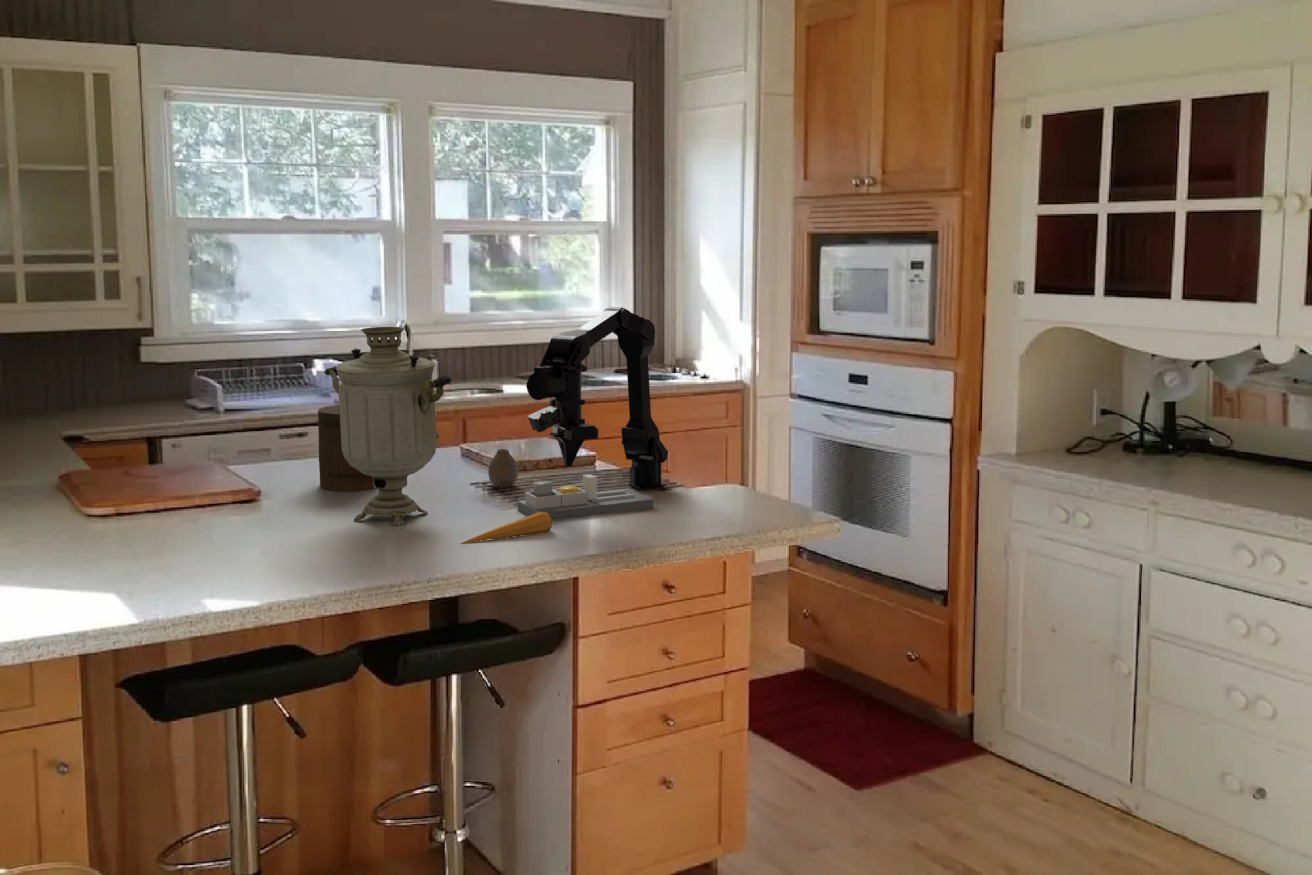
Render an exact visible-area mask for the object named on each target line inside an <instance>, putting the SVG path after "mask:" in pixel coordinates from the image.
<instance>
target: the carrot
mask: <svg viewBox="0 0 1312 875" xmlns="http://www.w3.org/2000/svg"><path fill="white" fill-rule="evenodd" d="M552 528H553V520H552V519H551V517H550V516H549V514H548V513H546V512H538V513H535V514H532V515H530V516H528V515H526V516H525V517H522V518H519V519H516V520H514V521H511V522H509V523H506V524H504V525H501V526H498V527H496V528H493V529H490V530H488V531H486V532H483V533H480V534H479V535H475V536H473V537H471V538H470V539H467V540H465V541H462V542H461V543H462V544H468V543H467V542H472V543H476V542H475V541H480V540H487V539H496V540H501V539H500V538H503V539H507V538H506V537H510V538H514V537H513V536H518V537H521V536H520V535H525V536H532V535H537V534H539V533H540V534H544V533H545V532H546V533H549V532H550V531H551V530H552ZM546 533H545V534H546ZM480 542H481V541H480Z"/></svg>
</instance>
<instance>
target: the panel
mask: <svg viewBox="0 0 1312 875" xmlns="http://www.w3.org/2000/svg"><path fill="white" fill-rule="evenodd" d="M524 494H525V495H524V496H525V499H521V500H517V511H519V512H521V513H522V514H524V515H526V516H530V515H532V514H535V513H538V512H546V513H548V514H549V516H550V517H551V519H552V521H558V520H565V519H566V520H567V519H574V518H582V517H583V518H584V517H588V516H589V517H590V516H599V515H600V516H601V515H608V514H609V515H610V514H616V513H622V512H623V513H624V512H631V511H640V510H641V511H642V510H647V509H648V510H650V509H654V506H655V503H654V502H655V501H654V500H655V499H654V498H652V497H650V496H648V495H646V494H643V493H641V492H639V491H637V490H634V489H632V488H629V487H626V488H619V489H612V490H609V489H607V490H600V491H597V498H594V499H592V500H587V492H586V491H584V490H583V488H582V489H581V488H579V487H578V492H577V493H568V494H562V493H560V487H557V488H552V495H550V496H541V497H536V496H534V490H532V491H525V492H524Z"/></svg>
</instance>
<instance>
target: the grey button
mask: <svg viewBox="0 0 1312 875" xmlns="http://www.w3.org/2000/svg"><path fill="white" fill-rule="evenodd" d="M532 484H533V491H534V496H536V497H541V496H550V495H552V489H553V482H552V481H548V480H547V481H546V480H544V481H541V480H540V481H535V482H533V483H532Z"/></svg>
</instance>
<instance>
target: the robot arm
mask: <svg viewBox="0 0 1312 875" xmlns="http://www.w3.org/2000/svg"><path fill="white" fill-rule="evenodd" d="M612 333H613V334H614V335H615V336H617V343H618V347H619V349H620V350H621V353H622V354H623V355H624V356H625V358H626V360H625V361H626V374H627V375H626V377H627V392H628V394H627V395H628V413H629V416H628V417H629V420H628V421H627V423H626V425H625V426H623V427H622V428H621V430H620V431H621V432H620V433H621V445H622V446H623V450H624V454H625V458H626V460H627V461H629V460H631V466H630V467H629V482H628V485H629V486H632V487H634V488H637V489H638V490H647V489H648V490H649V489H654V488H664V487H665V484H664V483H662V464H663V463H665V462H667V460H668V456H669V455H668V454H669V451H668V449H667V448H666V446H665V445H664V444H663V443H662V441H661V438H660V433H659V427H658V426H657V425H656V423H655V421H654V420H653V418H652V411H651V391H650V371H649V370H650V369H649V356H650V353H651V352H652V350H653V348H654V346H655V335H656V329H655V324H654V323H653V322H652V321H651V320H650V319H648V318H644V317H643V316H640V315H638V314H636V313H632V312H631V311H630V310H629V309H627V308H625V307H621V306H620V307H615V306H609V307H606V308H605V309H604V310H603V311H602V312H601V313H600V314H598V315H597V316H595V317H594V318H592V319H590V320H589V321H588V322H586V323H585V324H583V325H582V326H580V327H578V328H577V329H576V328H575V329H574V330H569V331H563V332H560V333H558V334H555V335H553V336H552V337H551V338H550V341H549V343H548V345H547V348H546V350H545V351H544V352H545V353H544V355H543V357H542V359H541V361H540V363H539V366H534V368H533V369H534V370H533V373H531V374H530V376H528V379H527V381H526V384H525V385H526V390H527V394H528V395H529V396H530V397H531V399H533V400H536V401H542V400H547V399H550V400H549V406H547V407H543V408H542V409H540V410H537V411H535V412H533V413H531V414H529V415H528V416H527V418H528V421H529V424H530V426H531V429H532V430H533V431H536V433H543V432H545V431H547V429H549V428H552V432H550V433H549V435H550V436H551V437H552V438H554V440H556V442H557V444H558V446H559V449H560V452H561V456H562V460H563V463H564V466H565V467H566V468H570V467H571V468H572V466H573V464H574V463H575V459H576V457H577V455H578V453H579V451H580V449H581V447H582V445H583V443H584V442H585V441H590V440H598V439H599V436H600V434H599V432H600V430H599V428H598V427H596V425H595V424H594V425H593V424H590V423H586V418H583V417H582V405H586V403H585V402H586V400H585V399H584V398H582V373H584V372H587V371H588V368H587V367H586V365H584V364H583V363H582V362H583V361H584V360H585V359H586V358H587V357H588V356H589V355H590V354H591V349H592V347H593V346H594V345H596V344H598V343H600V341H602V340H603V339H604V338H606V337H608V336H609V335H610V334H612Z"/></svg>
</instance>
